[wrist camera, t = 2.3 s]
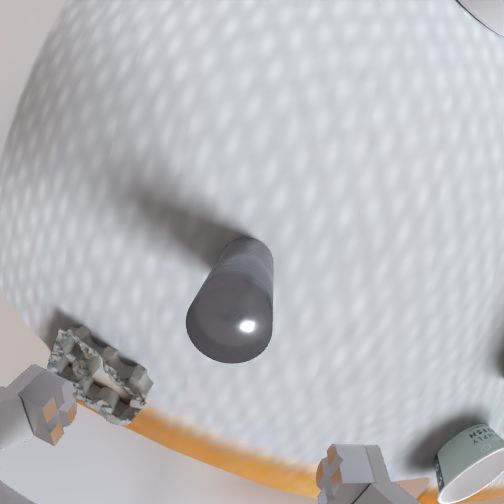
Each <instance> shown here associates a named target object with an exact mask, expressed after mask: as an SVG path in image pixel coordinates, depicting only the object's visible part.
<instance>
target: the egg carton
mask: <svg viewBox="0 0 504 504" xmlns="http://www.w3.org/2000/svg"><path fill="white" fill-rule="evenodd" d="M72 335H73V336H74V337H76V338H77V339H78V344H79V345H80V349H81V351H83V352H82V353H81V354H80V355H79V356H78V357H77V358H76V359H75V360H74V362H73V364H72V368H71V367H70V366H69V361H68V359H67V357H66V356H67V355H68V354H69V353H70V352H71V351H72V350H73V349H74V347H75V341H74V339H73V337H72ZM99 356H100V357H101V359H102V360H103V367H104V371H105V373H108V374H109V377H110V379H111V380H112V381H113V382H114V383H115V384H116V385H119V386H123V387H124V389H125V390H126V391H127V392H128V393H129V394H131V395H133V396H132V398H131V400H130V404H129V405H125V404H124V403H122V402H121V401H119V400H120V397H119V395H118V393H117V392H116V391H115V390H114V389H112V388H110V387H103V388H99V387H98V386H96V385H95V384H94V383H93V378H92V376H93V374H94V373H95V372H96V371H97V369H98V368H99V367H100V365H101V360H100V358H99ZM47 370H48V371H50V372H52V373H54V374H56V375H58V376H60V377H62V378H64V379H67V380H69V381H70V382H72V383H73V387H74V391H73V394H74V397H75V398H77V399H79V400H81V401H83V402H84V403H85V404H87V405H88V406H89V407H91V408H93V409H95V410H96V411H97V412H99V413H100V414H101V415H102V416H103V417H104V418H105V419H106V420H107V421H108V422H110V423H112V424H116V425H129V424H131V421H132V420H133V419H134V418H135V417H136V415H137V413H138V412H139V411H140V410H141V409H142V408H143V407H144V406H145V404H146V402H145V400H146V397H147V395H148V393H149V391H150V389H151V387H152V385H153V384H154V383H153V382H152V381H151V380H150V378H149V377H148V375H147V370H146V369H145V368H144V367H143V366H141V365H139V364H138V365H136V366H133V367H132V366H128V365H126V364H124V363H123V362H122V361H121V360H120V358H119V356H118V350H117V349H115V348H113V347H111V346H107V347H100V346H98V345H96V344H95V343H94V342H93V341H92V339H91V336H90V330H88V329H87V328H86V327H84V326H81V327H80V328H74V327H72V326H70V327H69V328H68V329H67V330H66V331H63V330H62V329H61V328H60V329H59V330H58V336H57V338H56V340H55V342H54V344H53V349H52V351H51V355H50V358H49V363H48V366H47Z"/></svg>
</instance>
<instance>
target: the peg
mask: <svg viewBox="0 0 504 504" xmlns="http://www.w3.org/2000/svg"><path fill="white" fill-rule="evenodd" d="M272 323H273V257H272V254H271V252H270V250H269V249H268V248H267V246H266V245H265V244H263V243H262V242H260V241H258V240H256V239H253V238H240V239H237V240H234V241H232V242H231V243H230V244H228V245H227V246H226V248H225V249H224V251H223V252H222V254H221V256H220V257H219V259H218V260H217V262H216V264H215V265H214V267H213V269H212V270H211V272H210V274H209V275H208V277H207V279H206V280H205V282H204V284H203V285H202V287H201V289H200V290H199V292H198V294H197V295H196V297H195V299H194V300H193V302H192V304H191V306H190V307H189V309H188V312H187V316H186V329H187V333H188V335H189V338H190V340H191V341H192V343H193V344H194V346H195V347H196V348H197V349H198V350H199V351H200V352H201V353H203V354H204V355H206V356H207V357H209V358H211V359H213V360H216V361H219V362H223V363H242V362H246V361H249V360H251V359H253V358H255V357H257V356H258V355H259V354H261V353H262V352H263V351H264V350H265V348H266V347H267V346H268V344H269V342H270V339H271V336H272Z"/></svg>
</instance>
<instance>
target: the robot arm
mask: <svg viewBox="0 0 504 504" xmlns="http://www.w3.org/2000/svg"><path fill="white" fill-rule="evenodd" d="M458 1H459V2H460V3H461V4H462V5H463V6H464V7H465V8H466V9H467V10H468V11H469V12H470V13H471V14H472V15H474V16H475V17H476V18H477V19H478V20H479V21H481V22H482V23H483V24H484V25H486V26H487V27H488V28H490V29H491V30H493V31H494V32H496V33H498V34H499V35H501V36H503V37H504V0H458ZM73 391H74V387H73V383H72V382H70V381H69V380H67V379H64V378H62V377H60V376H58V375H56V374H54V373H52V372H50V371H48V370H47V369H44V368H42V367H40V366H38V365H36V364H33V365H31V366H30V367H28V368H27V369H26V370H25V371H24V372H23V373H22V374H21V375H20V376H19V377H17V378H16V379H15V380H14V381H13V382H12V383H11V384H10V385H9V386H8V387H7V388H5V387H3V386H2V387H0V451H2V450H4V449H6V448H9V447H11V446H14V445H16V444H18V443H21V442H23V441H26V440H28V439H30V438H32V437H34V436H36V437H38V438H40V439H42V440H44V441H46V442H48V443H50V444H51V445H53V446H55V445H56V444H57V442H58V441H59V439H60V438H61V437H62V435H63V434H64V431H63V427H66V426H69V425H70V424H71V423H72V421H73V419H74V418H75V415H76V412H77V411H76V410H77V404H76V400H75V398H74V397H73V396H72V393H73ZM316 484H317V486H318V487H319V488H320V489H321V490H322V491H321V492H320V494H319V495H318V504H421V503H420V502H419V501H418V500H416V499H415V498H414V497H412V496H411V495H410V494H409V493H408V492H406V491H405V490H404V489H403V488H402V487H400V486H399V485H398V484H397V483H395V482H391V481H390V478H389V475H388V472H387V469H386V466H385V463H384V460H383V457H382V454H381V451H380V448H379V446H378V445H349V444H332V445H331V446H330V447H329V448H328V450H327V457H326V458H324V459H322V460H321V462H320V464H319V466H318V469H317V473H316ZM0 504H35V503H33V502H32V501H30V500H29V499H27V498H26V497H24V496H22V495H21V494H19V493H18V492H16V491H15V490H13V489H12V488H10V487H9V486H7V485H6V484H5V483H3V482H2V481H0Z"/></svg>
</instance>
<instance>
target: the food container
mask: <svg viewBox="0 0 504 504" xmlns="http://www.w3.org/2000/svg"><path fill="white" fill-rule="evenodd" d="M434 465H435V470H436V476H437V482H438V489H439V494H438V497H437V500H438V502H439V503H441V504H451V503H455V502H458V501H461V500H463V499H466V498H468V497H470V496H472V495H474V494H475V493H477V492H479V491H480V490H482V489H483V488H485V487H486V486H488V485H489V484H490V483H492V482H493V481H494V480H495V479H496V478H497V477H499V476H500V475H501V474H502V473H503V472H504V440H503V439H501V438H500V437H499V436H498V435H497V434H496V433H495V432H494V431H493V430H492V429H491V428H490V427H489V426H488V425H486V424H477V425H474V426H471V427H469V428H467V429H465V430H463V431H462V432H460V433H458V434H457V435H456V436H454V437H453V438H452V439H450V440H449V441H448V442H447V443H446V444H445V445H444V446H443V447H442V448H441V449H440V450H439V451H438V453H437V454H436V456H435V459H434Z"/></svg>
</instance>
